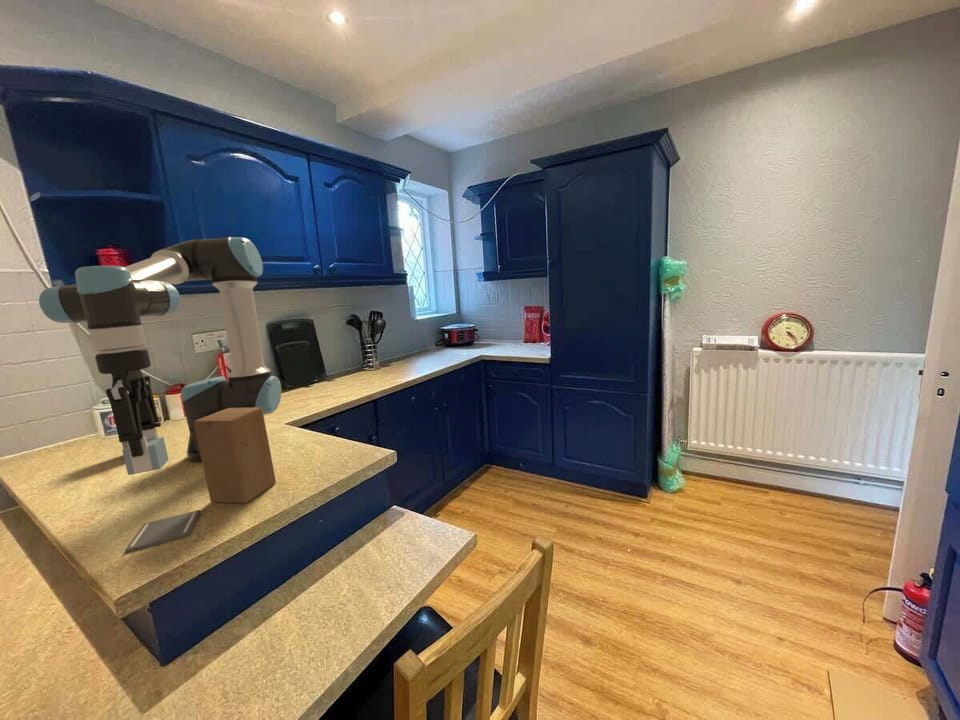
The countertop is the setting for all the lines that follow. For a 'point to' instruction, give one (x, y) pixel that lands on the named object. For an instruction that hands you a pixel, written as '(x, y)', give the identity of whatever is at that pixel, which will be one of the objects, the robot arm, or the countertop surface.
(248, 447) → the wooden block
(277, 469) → the countertop surface
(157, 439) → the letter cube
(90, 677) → the countertop surface
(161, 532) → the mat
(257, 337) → the robot arm
